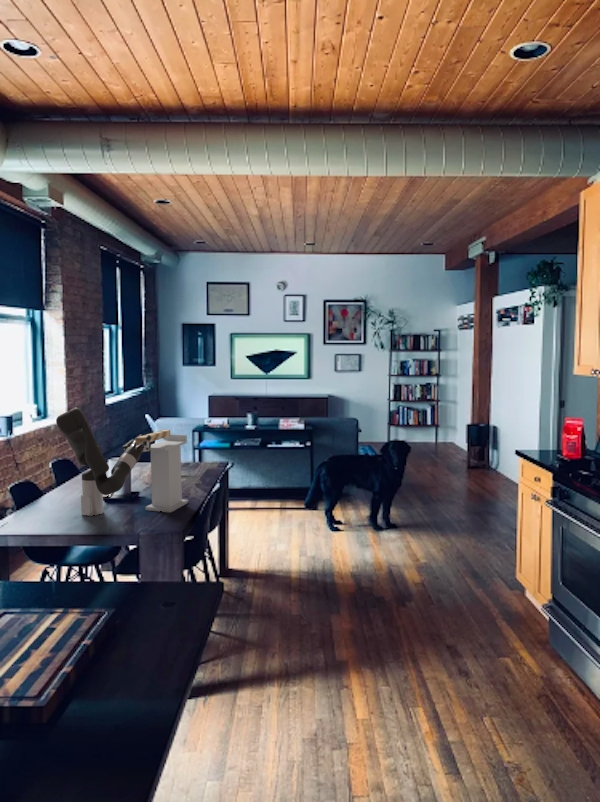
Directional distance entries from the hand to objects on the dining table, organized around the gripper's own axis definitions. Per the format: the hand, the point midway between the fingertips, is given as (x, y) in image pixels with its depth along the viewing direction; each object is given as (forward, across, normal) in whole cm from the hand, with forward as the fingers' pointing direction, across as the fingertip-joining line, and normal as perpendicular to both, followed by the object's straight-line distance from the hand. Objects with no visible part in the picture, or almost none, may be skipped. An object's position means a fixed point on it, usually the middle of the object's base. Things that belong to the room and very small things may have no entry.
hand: (145, 436), depth 285 cm
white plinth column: (-4, 0, +43) cm, 43 cm away
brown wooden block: (+5, 0, +6) cm, 8 cm away
